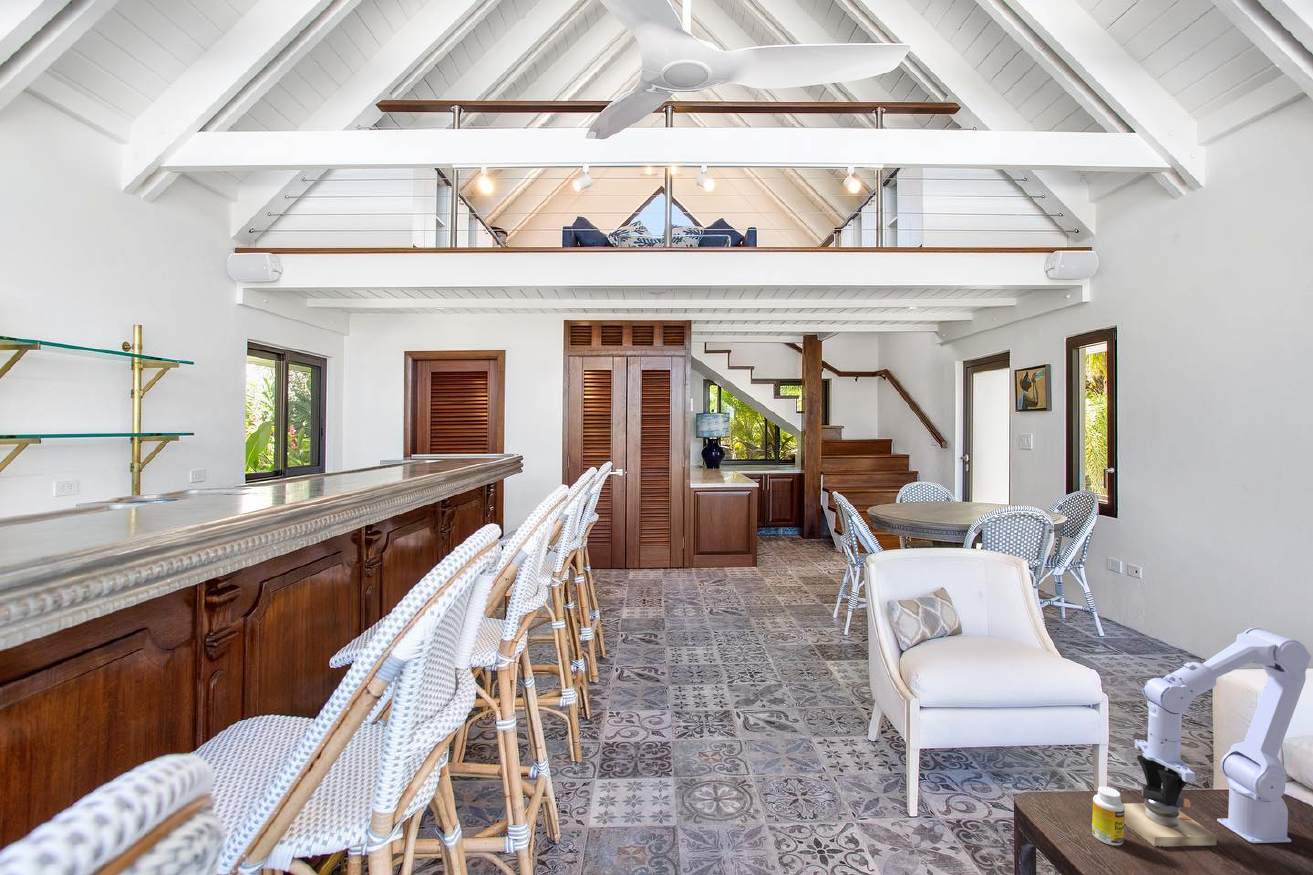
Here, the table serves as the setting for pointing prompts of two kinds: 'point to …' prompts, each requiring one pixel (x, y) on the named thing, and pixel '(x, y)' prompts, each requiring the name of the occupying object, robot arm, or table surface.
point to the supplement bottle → (1108, 816)
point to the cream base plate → (1166, 828)
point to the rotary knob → (1162, 801)
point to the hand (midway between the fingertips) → (1162, 796)
